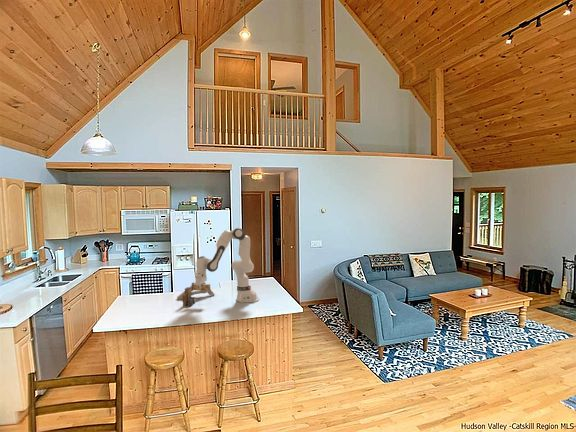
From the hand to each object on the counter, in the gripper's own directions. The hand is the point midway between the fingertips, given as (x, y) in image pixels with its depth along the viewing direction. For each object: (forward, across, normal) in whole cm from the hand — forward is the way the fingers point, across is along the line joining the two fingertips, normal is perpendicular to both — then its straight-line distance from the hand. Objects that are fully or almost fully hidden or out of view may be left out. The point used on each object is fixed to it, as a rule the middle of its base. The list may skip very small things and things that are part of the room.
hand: (201, 287), depth 315 cm
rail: (+2, 0, 0) cm, 2 cm away
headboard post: (+16, +1, -12) cm, 20 cm away
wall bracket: (+16, -22, -14) cm, 31 cm away
